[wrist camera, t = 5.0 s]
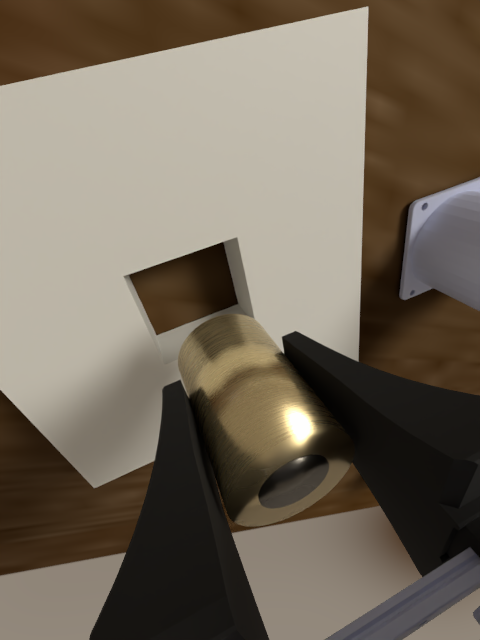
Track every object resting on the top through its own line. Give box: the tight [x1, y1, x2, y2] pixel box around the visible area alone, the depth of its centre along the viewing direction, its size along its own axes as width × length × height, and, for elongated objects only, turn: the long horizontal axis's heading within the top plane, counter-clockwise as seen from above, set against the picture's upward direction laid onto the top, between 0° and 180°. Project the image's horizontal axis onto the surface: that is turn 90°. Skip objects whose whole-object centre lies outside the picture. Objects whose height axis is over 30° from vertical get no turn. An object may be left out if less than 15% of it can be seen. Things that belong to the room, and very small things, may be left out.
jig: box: [0, 7, 368, 488], centre depth 18 cm, size 20×20×3 cm
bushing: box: [178, 314, 355, 526], centre depth 11 cm, size 4×4×6 cm
